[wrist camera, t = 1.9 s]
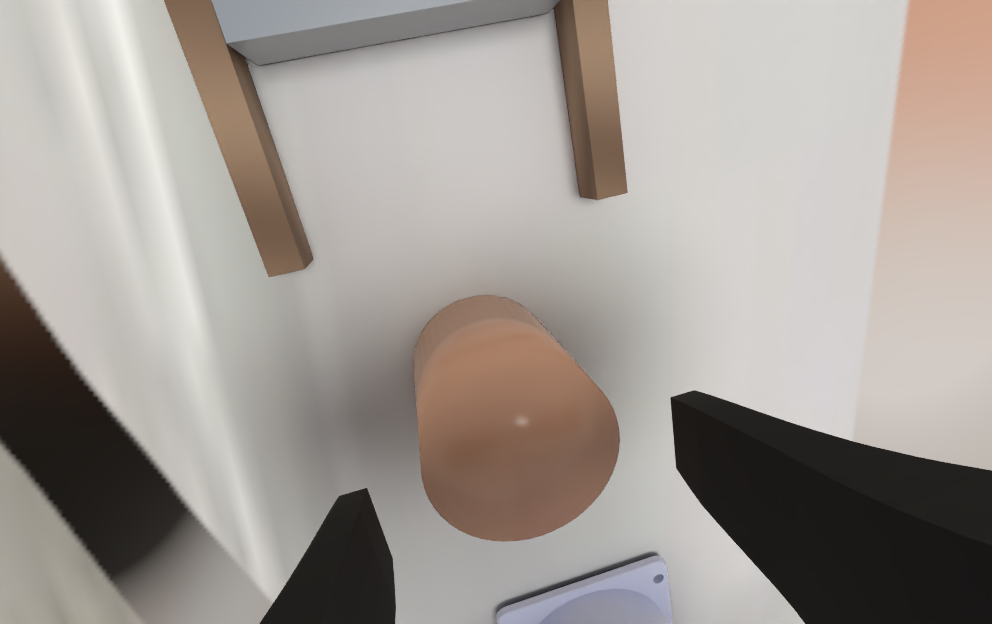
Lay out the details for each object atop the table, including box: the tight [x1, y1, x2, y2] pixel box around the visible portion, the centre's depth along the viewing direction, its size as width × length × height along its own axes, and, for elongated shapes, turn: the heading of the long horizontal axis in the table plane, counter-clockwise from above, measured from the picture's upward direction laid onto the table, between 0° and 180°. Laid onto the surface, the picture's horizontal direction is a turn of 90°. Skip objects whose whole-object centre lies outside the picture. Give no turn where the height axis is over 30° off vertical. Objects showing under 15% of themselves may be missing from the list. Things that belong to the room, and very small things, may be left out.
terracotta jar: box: [413, 295, 620, 541], centre depth 14 cm, size 5×5×6 cm
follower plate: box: [211, 0, 560, 65], centre depth 12 cm, size 1×8×2 cm, turn 102°
